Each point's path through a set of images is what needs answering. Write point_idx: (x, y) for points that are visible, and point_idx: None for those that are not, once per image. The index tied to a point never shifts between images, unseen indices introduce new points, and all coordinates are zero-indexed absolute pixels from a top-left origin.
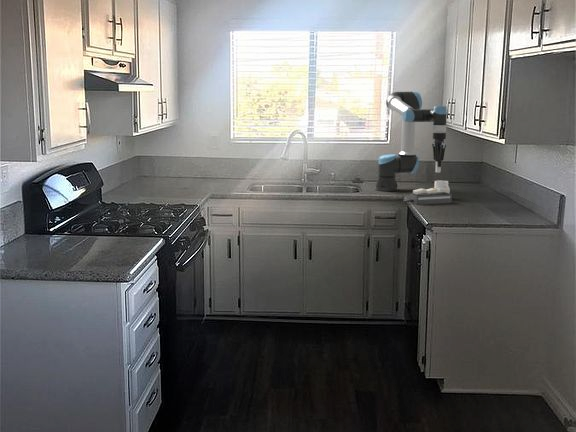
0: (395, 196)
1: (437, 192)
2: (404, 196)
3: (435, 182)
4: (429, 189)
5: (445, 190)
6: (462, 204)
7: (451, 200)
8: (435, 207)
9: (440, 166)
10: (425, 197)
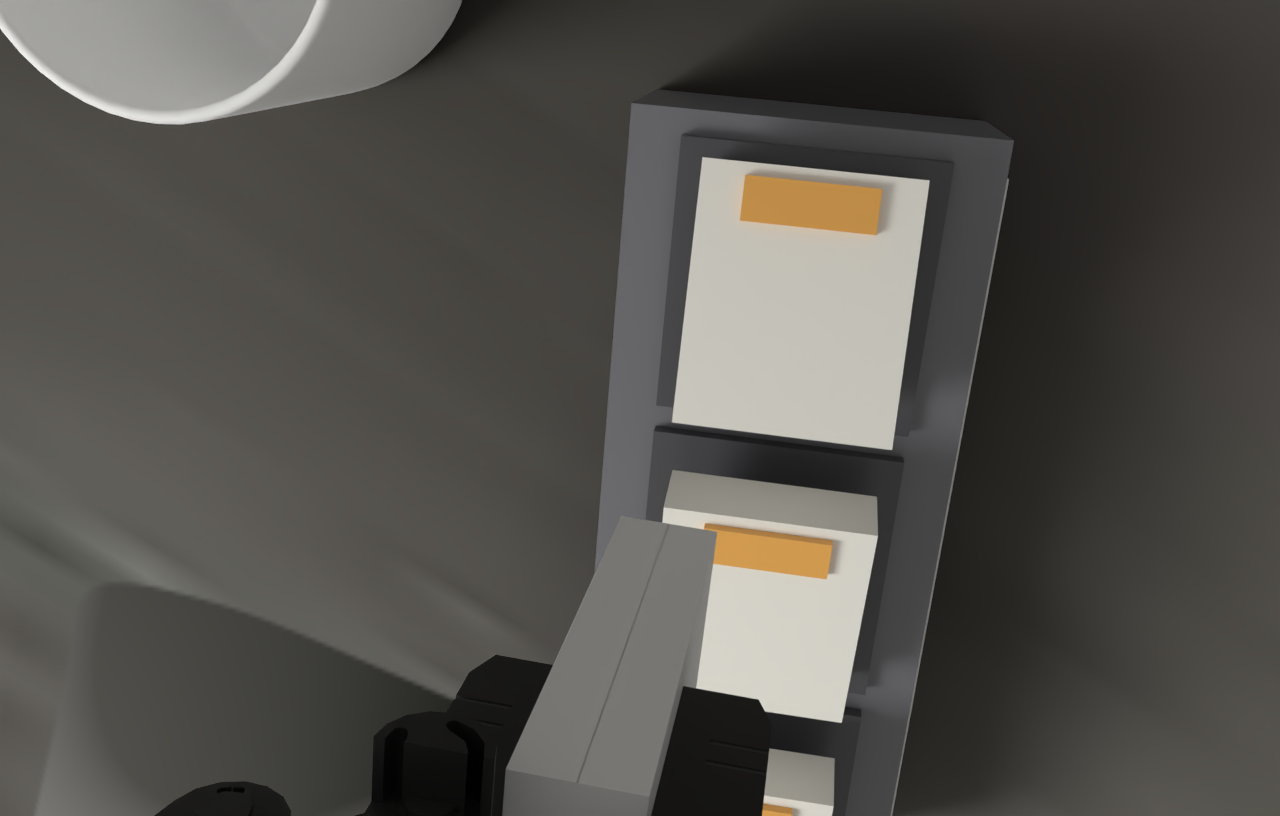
0: (11, 658)
1: None
2: (39, 525)
3: (164, 120)
4: (734, 629)
5: (910, 284)
6: (1271, 7)
7: (991, 125)
8: (1255, 708)
9: (763, 728)
10: (902, 751)
